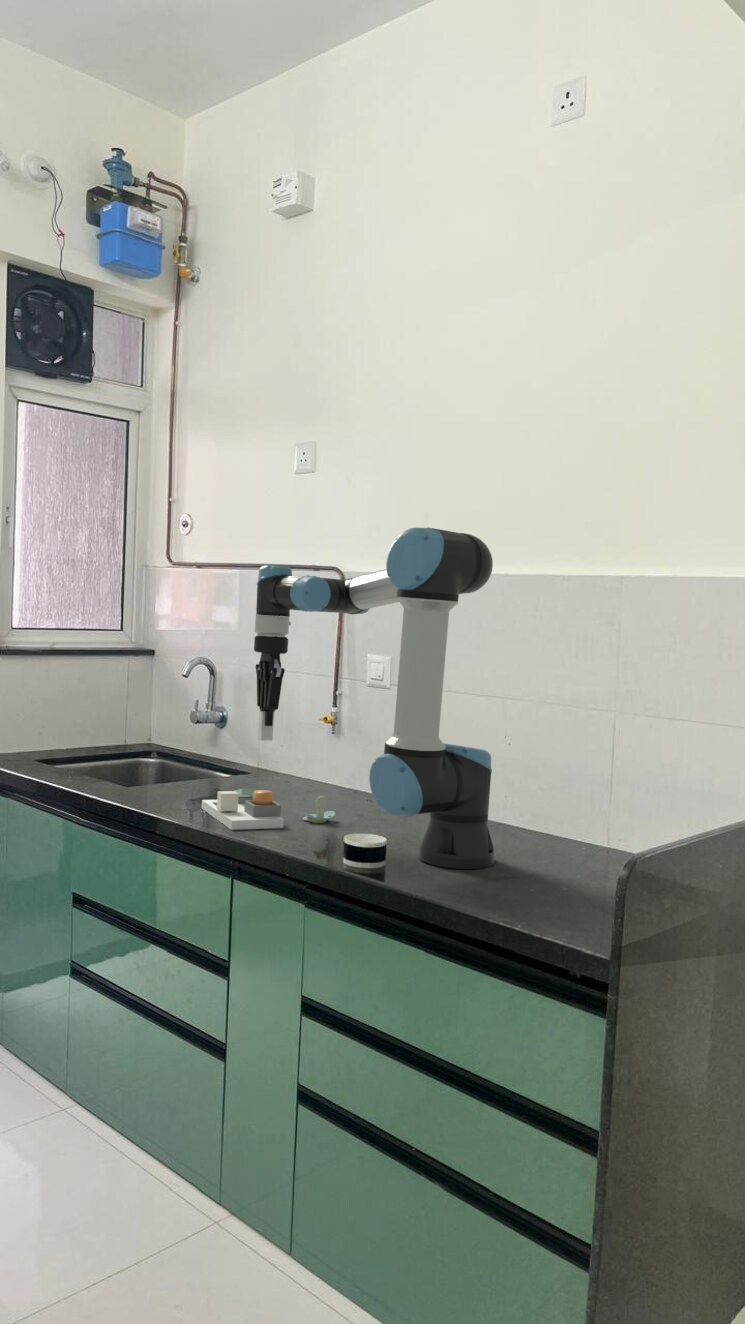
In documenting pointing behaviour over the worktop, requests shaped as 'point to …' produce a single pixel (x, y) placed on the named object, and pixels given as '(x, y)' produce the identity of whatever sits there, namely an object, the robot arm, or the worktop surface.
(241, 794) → the rocker
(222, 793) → the off-white square block
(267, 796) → the plunger button
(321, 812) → the pacifier
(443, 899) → the worktop surface
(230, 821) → the panel
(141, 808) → the worktop surface
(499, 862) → the worktop surface
